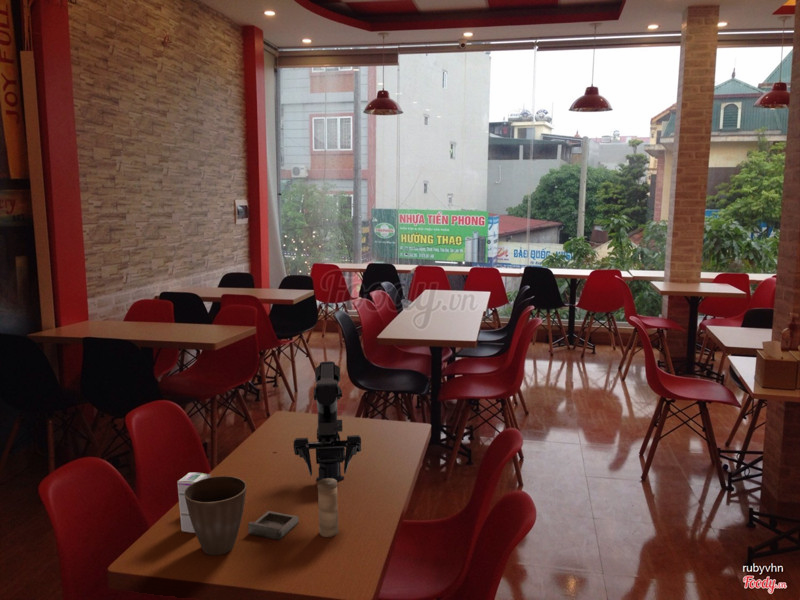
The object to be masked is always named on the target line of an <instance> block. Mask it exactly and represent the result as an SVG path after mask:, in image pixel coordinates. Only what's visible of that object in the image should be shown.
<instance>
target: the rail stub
mask: <svg viewBox="0 0 800 600" xmlns="http://www.w3.org/2000/svg"><path fill="white" fill-rule="evenodd" d="M317 495H318V496H317V498H318V499H317V500H318V503H317V505H318V526H319V528H318V530H319V531H318V532H319V535H320V536H321V537H323V538H332V537H334V536H337V535H338V534H339V510H338V509H339V505H338V481H337V480H335V479H332V478H325V479H321V480H317Z"/></svg>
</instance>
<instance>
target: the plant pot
mask: <svg viewBox="0 0 800 600" xmlns="http://www.w3.org/2000/svg"><path fill="white" fill-rule="evenodd" d="M246 493H247V482H246V481H244V479H241V478H240V477H235V476H231V475H230V476H228V475H219V476H218V475H217V476H210V478H206V479H202V480H199V481H197V482H195V483H193V484H191V485H190V486H189V487H187V488H186V490H185V492H184V495H185V499H186V504H187V508H188V512H189V516H190V519H191V523H192V526H193V528H194V531H195V533H194V534H195V536H196V538H197V540H198V543H199V545H200V547H201V549H202V551H203V552H204V554H206V555H208V556H222V555H225V554H227V553H229V552H230V551H231V550H233V549H234V546H235V542H236V541H237V538H238V537H237V536H238V534H239V530H240V526H241V522H242V518H243V514H244V508H245V502H246Z"/></svg>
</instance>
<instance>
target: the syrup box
mask: <svg viewBox="0 0 800 600" xmlns="http://www.w3.org/2000/svg"><path fill="white" fill-rule="evenodd" d="M207 475H208V473H203V472H188V473H187V474H185V475H184V476H183V477H182V478H180V479H179V480H177V493H178V503H179V514H180V515H179V517H180V527H181V528H180V529H181V532H186V533H194V534H195V531H194V528H193V526H192V523H191V519H190V516H189V512H188V508H187V504H186V499H185V495H184V492H185V490H186V488H187V487H189V486H190V485H191V484H193V483H195V482H197V481H199V480H202V479H206V478H207Z"/></svg>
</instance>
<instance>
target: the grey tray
mask: <svg viewBox="0 0 800 600" xmlns="http://www.w3.org/2000/svg"><path fill="white" fill-rule="evenodd" d="M247 524H248V525H247V528H248V535H251V534H252V536H256V535H257V537H261V538H266V539H272V540H275V541H276V540H278V541H280V540H283V538H284V537H285V536H286V535H287V534H288V533H290V531H292V530H293V529H294V527H296V526H297V525H298V524H299V516H298V515H293V514H288V513H282V512H277V511H271V510H267V511H266V512H265V513H263V515H261V516H260V517H259V518H257V519H256V520H255V521H249V522H248V523H247Z"/></svg>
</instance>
